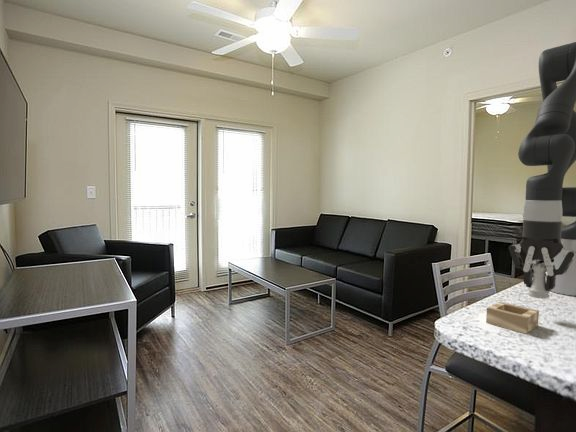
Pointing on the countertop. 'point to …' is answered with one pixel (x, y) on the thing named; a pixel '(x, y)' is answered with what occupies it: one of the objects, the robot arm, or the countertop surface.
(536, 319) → the socket block
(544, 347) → the countertop surface
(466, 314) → the countertop surface
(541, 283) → the rook chess piece
